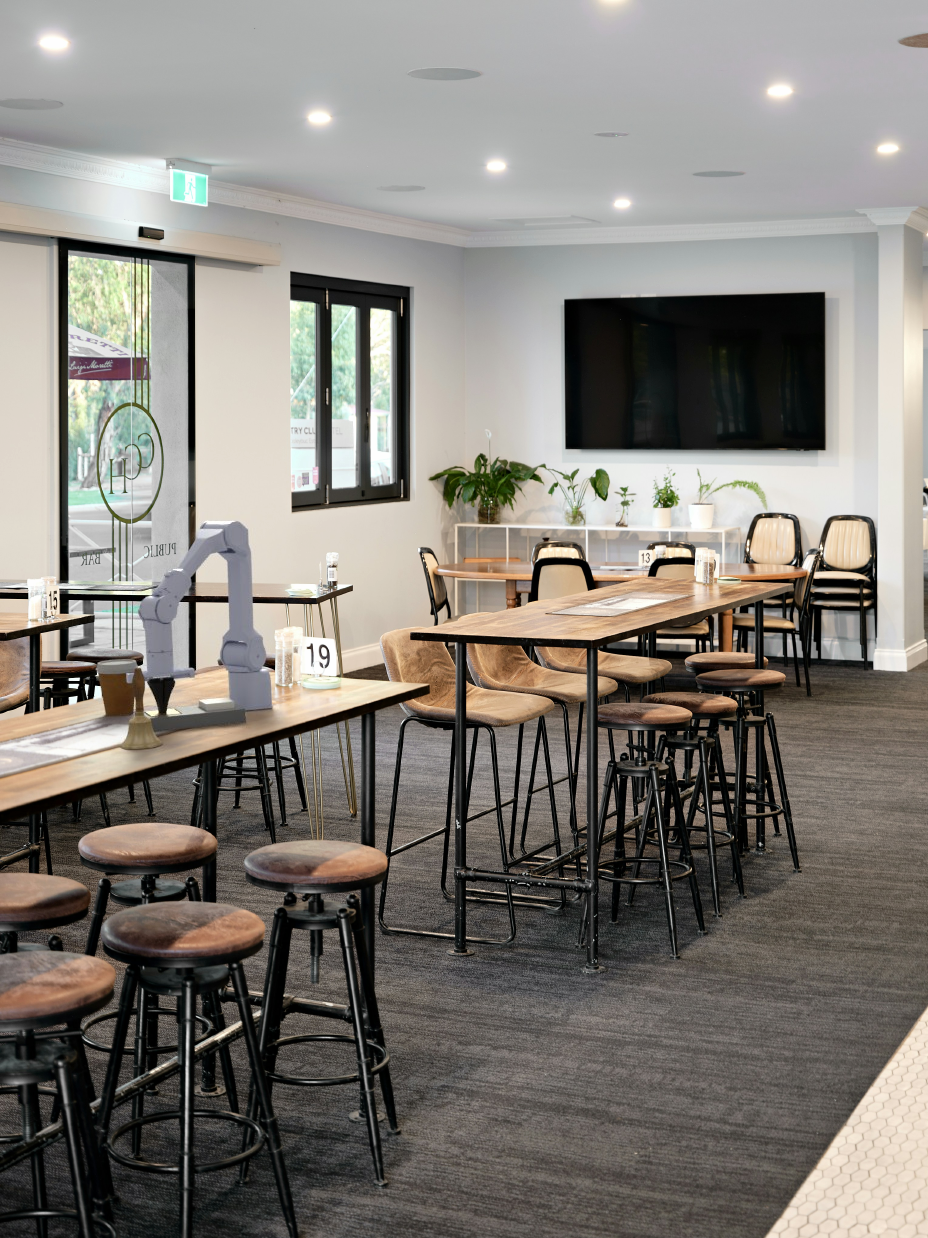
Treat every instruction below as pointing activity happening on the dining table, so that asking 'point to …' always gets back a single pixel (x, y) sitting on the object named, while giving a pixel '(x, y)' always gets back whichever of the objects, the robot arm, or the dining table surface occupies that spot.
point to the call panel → (196, 718)
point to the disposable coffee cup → (116, 686)
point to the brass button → (162, 713)
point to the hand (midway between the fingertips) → (162, 713)
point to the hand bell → (140, 719)
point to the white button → (216, 704)
